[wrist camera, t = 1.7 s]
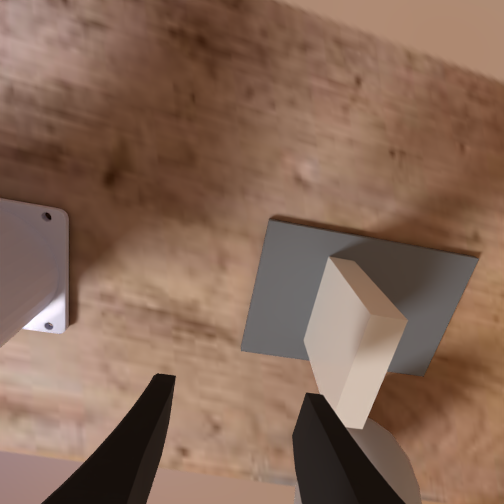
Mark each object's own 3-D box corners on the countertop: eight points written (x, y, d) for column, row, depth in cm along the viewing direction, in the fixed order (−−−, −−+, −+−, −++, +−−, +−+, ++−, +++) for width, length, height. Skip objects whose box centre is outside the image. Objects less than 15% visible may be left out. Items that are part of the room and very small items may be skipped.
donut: (346, 376, 23) (422, 548, 13) (385, 393, 23) (483, 568, 14) (276, 466, 25) (297, 659, 16) (312, 478, 26) (352, 671, 17)
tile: (303, 340, 21) (329, 425, 15) (328, 256, 19) (371, 314, 13) (327, 343, 21) (362, 429, 15) (354, 260, 19) (408, 320, 13)
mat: (240, 347, 21) (240, 351, 21) (269, 218, 18) (269, 220, 18) (420, 372, 23) (423, 376, 22) (474, 256, 20) (479, 258, 19)
